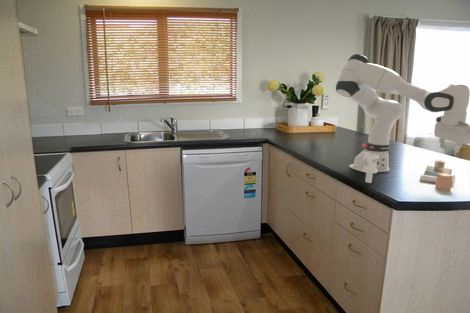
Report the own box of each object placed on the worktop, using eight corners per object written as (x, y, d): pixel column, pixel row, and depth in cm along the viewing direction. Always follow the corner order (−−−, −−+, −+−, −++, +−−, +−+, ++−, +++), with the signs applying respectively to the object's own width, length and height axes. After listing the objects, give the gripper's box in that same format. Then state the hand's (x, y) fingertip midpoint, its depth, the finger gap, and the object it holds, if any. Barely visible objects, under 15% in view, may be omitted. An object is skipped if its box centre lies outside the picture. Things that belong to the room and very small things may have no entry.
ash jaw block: (433, 173, 191) (435, 161, 189) (433, 171, 194) (435, 159, 193) (442, 175, 188) (444, 162, 187) (443, 173, 192) (445, 160, 191)
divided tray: (451, 186, 173) (452, 180, 172) (419, 180, 180) (420, 175, 179) (453, 174, 193) (454, 169, 193) (424, 170, 201) (425, 165, 200)
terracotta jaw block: (450, 190, 166) (452, 176, 165) (441, 190, 166) (443, 176, 164) (444, 187, 171) (446, 173, 169) (435, 187, 170) (437, 173, 169)
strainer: (360, 179, 181) (363, 150, 177) (375, 180, 179) (378, 151, 175) (361, 183, 174) (364, 153, 170) (376, 184, 172) (380, 154, 168)
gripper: (477, 123, 151) (471, 155, 154) (446, 117, 170) (441, 145, 174) (463, 123, 150) (458, 155, 153) (433, 117, 170) (429, 145, 173)
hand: (449, 150), depth 164 cm, fingers open, 8 cm apart
